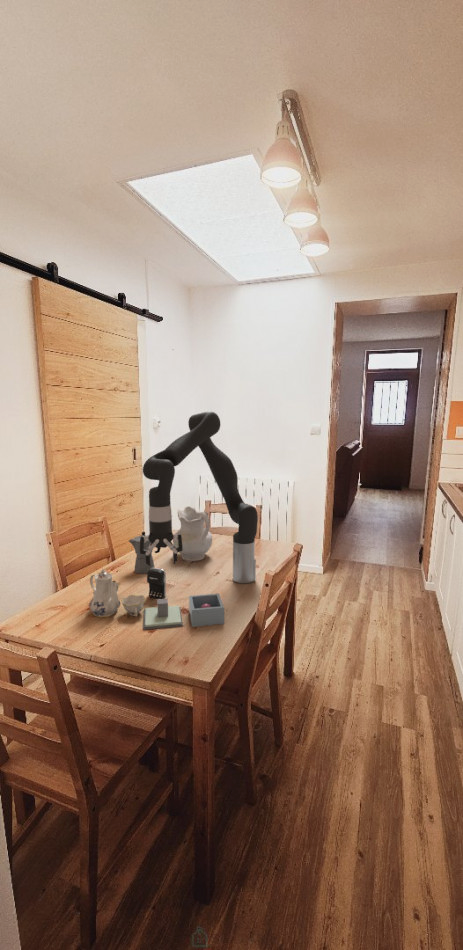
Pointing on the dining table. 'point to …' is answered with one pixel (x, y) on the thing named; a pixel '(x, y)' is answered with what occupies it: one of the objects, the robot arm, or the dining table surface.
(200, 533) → the ceramic pitcher
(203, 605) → the plum
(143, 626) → the mat
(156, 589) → the black battery charger
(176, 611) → the cover
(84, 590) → the dining table surface
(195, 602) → the square storage bin
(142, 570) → the coffeepot
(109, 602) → the chinaware
